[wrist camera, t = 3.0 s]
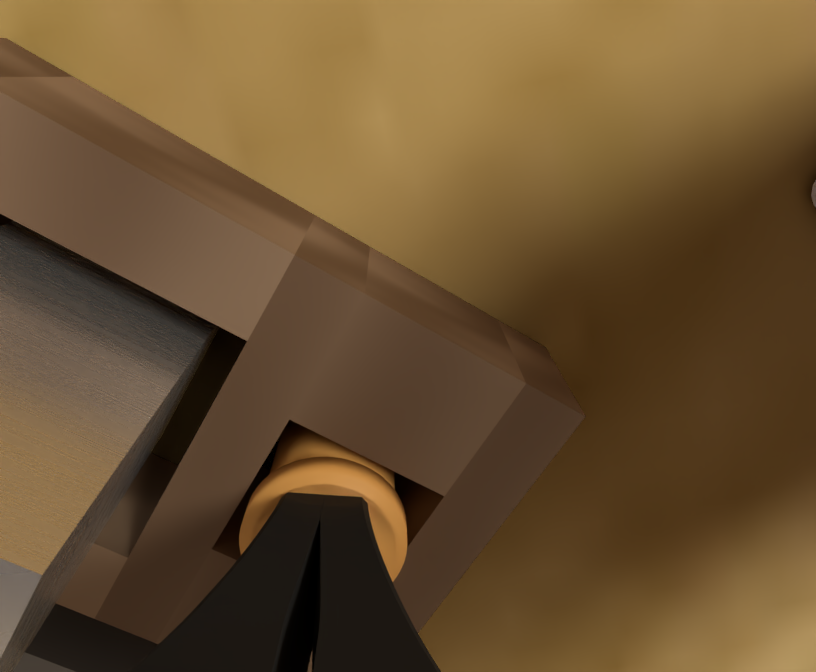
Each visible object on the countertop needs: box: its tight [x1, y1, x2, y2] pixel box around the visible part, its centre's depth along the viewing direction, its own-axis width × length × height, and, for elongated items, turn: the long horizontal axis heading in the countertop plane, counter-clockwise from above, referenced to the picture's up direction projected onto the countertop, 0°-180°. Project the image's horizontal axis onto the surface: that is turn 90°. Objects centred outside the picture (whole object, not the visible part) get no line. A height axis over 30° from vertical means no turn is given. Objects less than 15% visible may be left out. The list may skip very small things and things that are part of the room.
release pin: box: [239, 420, 407, 582], centre depth 13 cm, size 3×3×3 cm
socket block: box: [0, 38, 586, 672], centre depth 12 cm, size 11×8×3 cm
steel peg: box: [0, 221, 219, 672], centre depth 10 cm, size 4×4×8 cm
